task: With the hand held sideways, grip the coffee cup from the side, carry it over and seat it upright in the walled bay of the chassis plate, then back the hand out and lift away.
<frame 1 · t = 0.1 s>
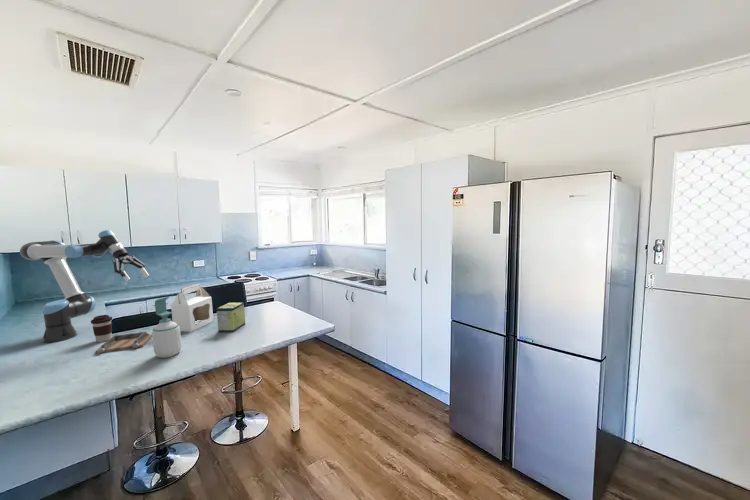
hand: (138, 278, 205), 36 cm above the worktop, tool tilted 35°, fingers open, 13 cm apart
gable box: (194, 326, 218), on the worktop
coffee cup: (104, 340, 196), on the worktop
soap bottle: (168, 354, 172), on the worktop
protein box: (232, 328, 210), on the worktop
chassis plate: (125, 344, 188), on the worktop
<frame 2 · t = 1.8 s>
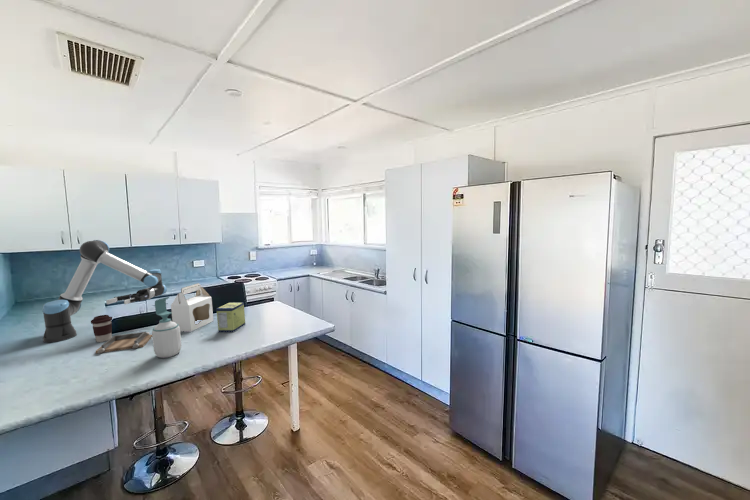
hand: (115, 302, 204), 21 cm above the worktop, tool horizontal, fingers open, 13 cm apart
nothing on the worktop moved.
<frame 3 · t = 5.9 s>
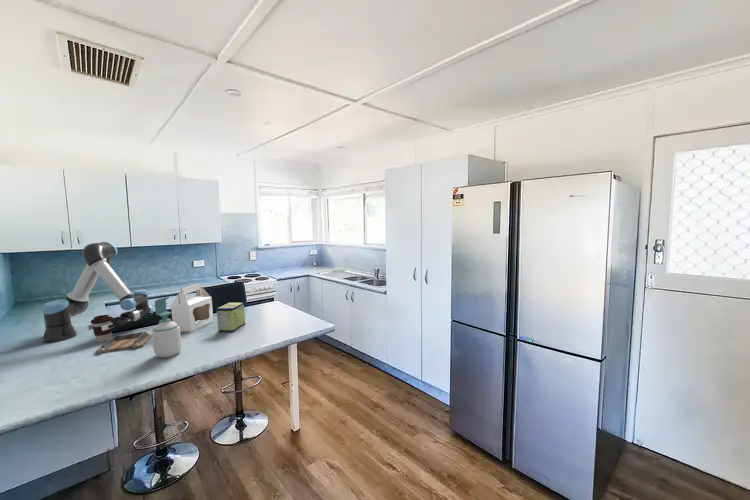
hand: (95, 328, 191), 9 cm above the worktop, tool horizontal, fingers closed on coffee cup, 10 cm apart
coffee cup: (104, 340, 196), on the worktop, touching gripper
everything else where it was.
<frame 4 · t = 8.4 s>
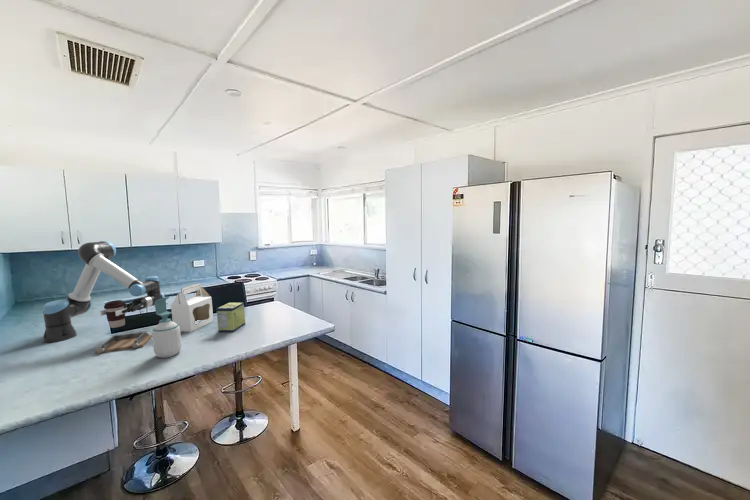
hand: (108, 313, 187), 19 cm above the worktop, tool horizontal, fingers closed on coffee cup, 10 cm apart
coffee cup: (117, 326, 192), point 10 cm above the worktop, touching gripper
everything else where it was.
when the fingers open (12 cm above the worktop, at t = 10.7 s): coffee cup drops 1 cm, resting on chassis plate.
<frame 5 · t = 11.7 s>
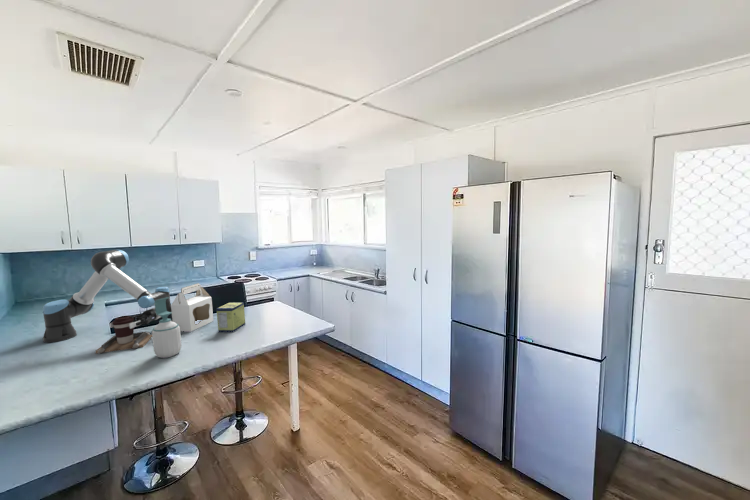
hand: (120, 325, 184), 12 cm above the worktop, tool horizontal, fingers open, 13 cm apart
coffee cup: (125, 342, 188), point 1 cm above the worktop, touching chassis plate
everything else where it was.
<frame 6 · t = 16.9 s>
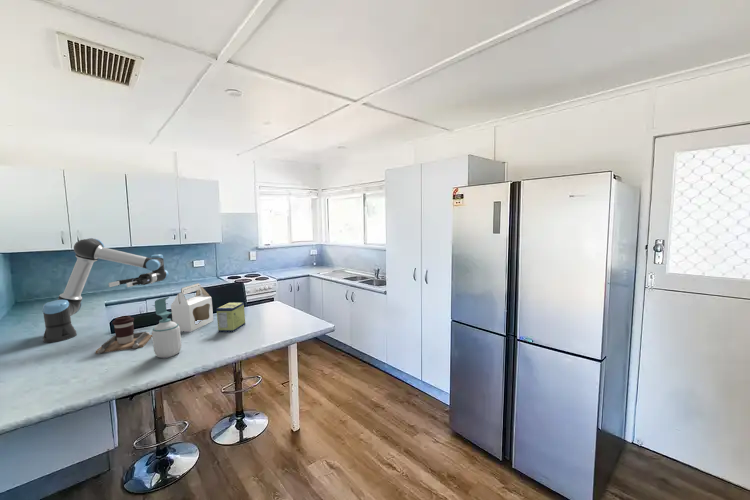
hand: (118, 285, 203), 32 cm above the worktop, tool horizontal, fingers open, 13 cm apart
nothing on the worktop moved.
at the end: coffee cup 0.1 cm off-centre on the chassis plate, point 1.3 cm above the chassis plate's base; coffee cup tilted 0°; the gripper is holding nothing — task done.
